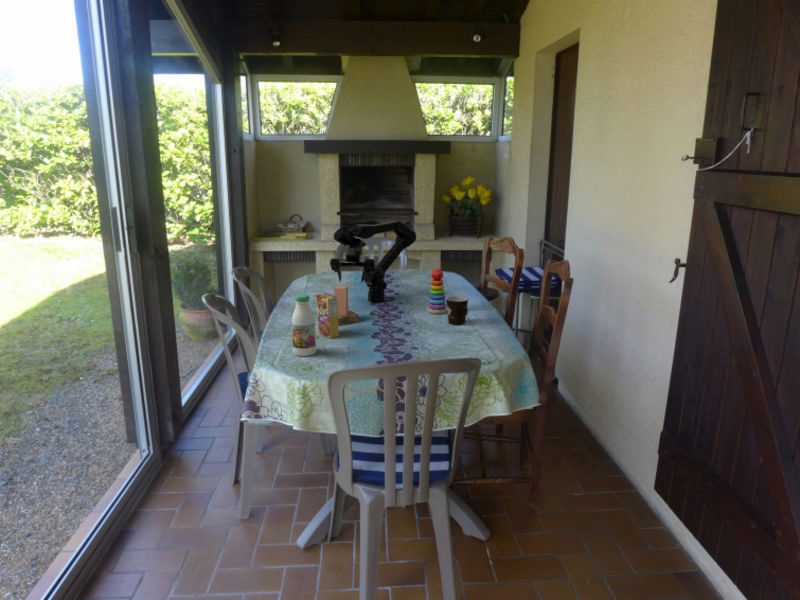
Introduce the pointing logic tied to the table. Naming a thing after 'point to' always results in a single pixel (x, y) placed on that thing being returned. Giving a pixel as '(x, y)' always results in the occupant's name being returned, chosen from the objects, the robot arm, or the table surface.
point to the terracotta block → (342, 299)
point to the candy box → (327, 315)
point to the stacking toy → (437, 293)
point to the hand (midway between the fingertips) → (350, 281)
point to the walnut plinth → (348, 318)
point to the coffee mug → (457, 309)
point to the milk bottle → (303, 327)
